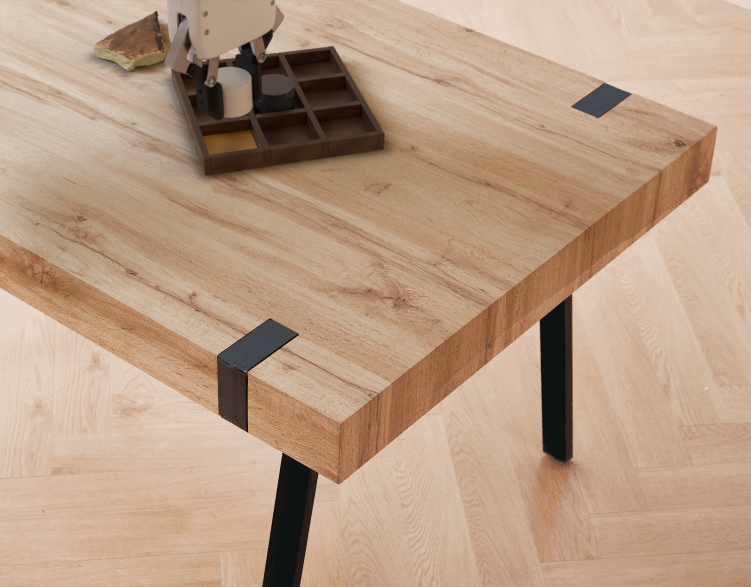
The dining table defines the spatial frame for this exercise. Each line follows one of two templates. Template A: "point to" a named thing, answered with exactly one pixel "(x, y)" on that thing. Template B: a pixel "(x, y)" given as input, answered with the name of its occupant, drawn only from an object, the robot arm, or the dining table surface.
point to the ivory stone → (235, 91)
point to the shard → (134, 44)
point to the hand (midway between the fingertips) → (230, 103)
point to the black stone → (275, 94)
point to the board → (286, 117)
